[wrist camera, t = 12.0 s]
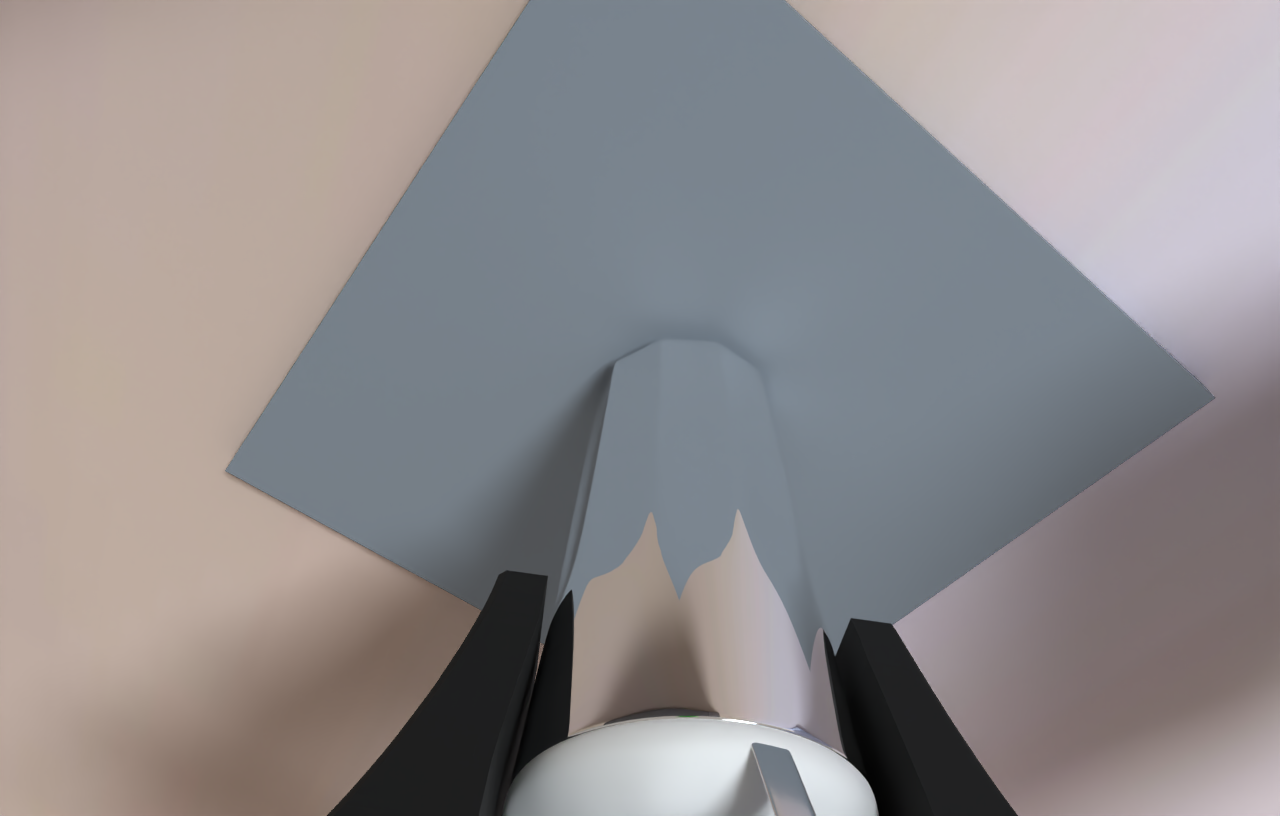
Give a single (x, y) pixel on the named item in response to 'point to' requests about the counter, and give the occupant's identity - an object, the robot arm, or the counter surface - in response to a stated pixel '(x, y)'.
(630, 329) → the mat
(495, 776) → the robot arm
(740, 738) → the milkshake
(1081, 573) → the counter surface
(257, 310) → the counter surface
